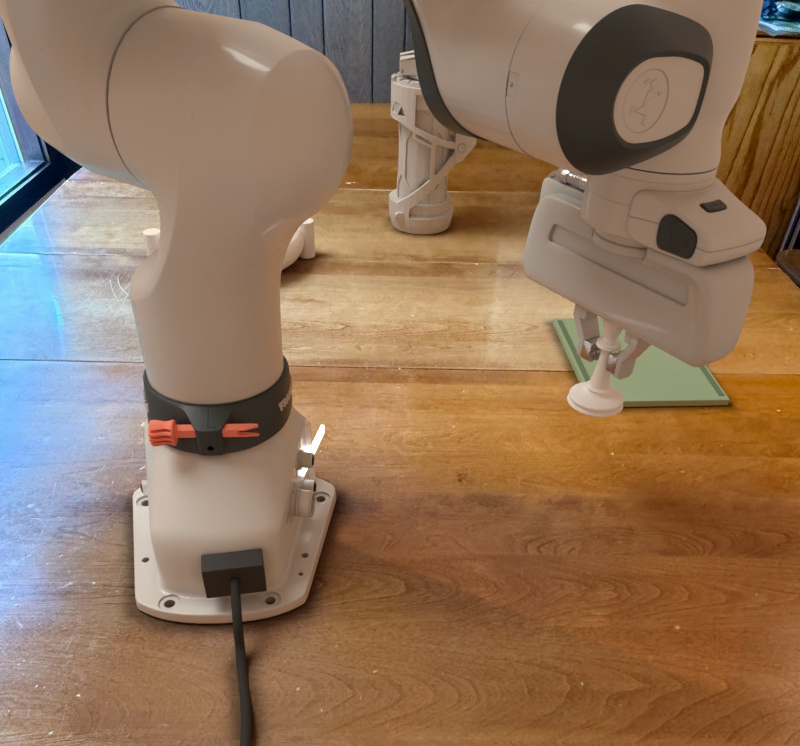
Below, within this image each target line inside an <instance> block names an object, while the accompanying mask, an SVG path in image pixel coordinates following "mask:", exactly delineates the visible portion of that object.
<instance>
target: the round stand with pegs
mask: <svg viewBox="0 0 800 746" xmlns="http://www.w3.org/2000/svg"><path fill="white" fill-rule="evenodd" d="M142 237H143V241H144V242H143V243H144V246H145V251H146V258H147V257H148V256H149V255H150V254H151V253H153V252H154V251H155V250H157V249H159V241H160V229H159V228H156V227H155V228H154V227H152V228H147V229H144V230H143V231H142ZM315 238H316V237H315V221H314V219H313V218H312V217H310V218H309V219H307V220H306V221H305V222H304V223H303V224H302V225H301V226H300V227H299V228H298V229H297V231H296V232H295V234H294V235H293V237H292V239H291V241H290V244H289V246H288V249H287V251H286V254H285V258H284V262H283V266H282V271H284V270H285V269H286V268H288V267H290V266H291V265H293V264H294V263H295V262H296V261H297V260H298V259H299V258H301V259H303V260H304V259H305V260H309V259H310V260H311V259H313V258H315V257H316V241H315Z"/></svg>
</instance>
